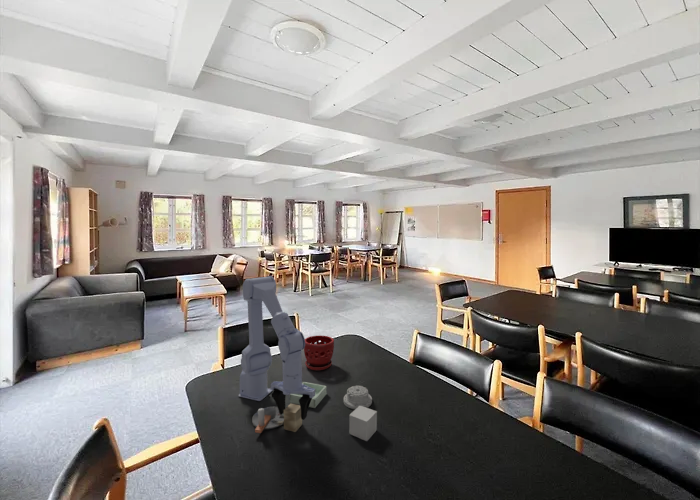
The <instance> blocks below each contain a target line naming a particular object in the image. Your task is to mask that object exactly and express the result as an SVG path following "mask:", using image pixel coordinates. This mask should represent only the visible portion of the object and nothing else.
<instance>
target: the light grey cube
mask: <svg viewBox="0 0 700 500" xmlns="http://www.w3.org/2000/svg"><path fill="white" fill-rule="evenodd" d="M348 417H349V419H348V420H349V421H348V422H349V429H348V430H349V435H351V436H354V437H356V438H358V439H360V440H363V441H365V442H368V441H369V440H370V439H371V438H372V436H373V435H374V434H375V433H376V431H377V430H378V424H377V423H378V411H377V410H374V409H371V408H369V407H368V408H366V407H363V406H359V407H358V408H356V409H353V411H352V412H351V413H350V414H349V415H348Z"/></svg>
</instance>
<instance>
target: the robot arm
mask: <svg viewBox="0 0 700 500" xmlns="http://www.w3.org/2000/svg"><path fill="white" fill-rule="evenodd" d="M276 293H277V282H276V279H275V278H274V276H272V275H269V276H262V277H252V278H250V277H249V278H246V279H245V280H244V281H243V283H242V296H243V297H242V298H243V300H244V301H246V302H247V318H248V319H247V320H248V339H249V344H248V345H247V346H246V347H245V348H244V349H243V350H242V351H241V358H240V366H241V373H240V375H239V380H238V381H239V394H238V398H239V397H240V398H244V399H248V400H252V401H257V402H260V401H262V400H263V399H264V398H265V397H267V396H268V395H269V394H271V397H272V399H273V400H274V402H275V405H276V407H278V410H279V413H280V415H282V414H283V413H284V410H285V409H286V397H287V396H290V394H301V395H303V396H302V397H301V398H300V399H299V403H300V407H301V419H302V421H303V420H305V419H306V418H307V416H308V412H309V411H308V410H309V408H310V407H309V405H310V402H311V400H312V398H313V397H314V396H315V389H314V388H311V387H308V386H306V385H304V384H302V382H303V381H302V380H303V372H302V371H303V365H302V364H303V363H302V351H304V347H305V339H306V338H305V336H304V333H303V332H302V331H301V330H299V329H298V328H295V327H296V326H294V323H293V322H292V320H291V319H292V318H291V317H290V315H289V313H287V312H285V311H283V309H282V307H281V304H280V302H279V299H278V296H277V294H276ZM263 304H264V306H265V307H266V309H267V311H268V312H269V314H270V315H271V317H272V318H271V320H270V324H271V326H272V328H273V329H274V331H275V334H276V336H277V338H278V343H277V345H278V350H279V354H280V359H281V362H282V363H281V364H282V381H278V380H277V381H276V380H272V382H271V383H270V388H268V371H269V369H270V366H272V364H273V357H272V352H271V348H270V346H269V345H267V344H266V343H265V342H264V321H263V320H264V319H263V317H264V316H263ZM271 392H272V393H271Z"/></svg>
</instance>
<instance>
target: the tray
mask: <svg viewBox="0 0 700 500" xmlns="http://www.w3.org/2000/svg"><path fill="white" fill-rule="evenodd" d="M302 384H304V385H306V386H308V387H311V388H314V389H315V396H314V397H313V398H312V400H311V402H310V405H309V408H313V409H316V407H318V405H319V404H320V403H321V402H322V400H323V399H324V398H325V397H326V396H327V394H328V392H327V389H328V388H327V387H328V386H326V385H323V384H319V383H313V382H306V381H302ZM302 396H303V395H301V394H290V395H289V404H290V403H291V404H296V405H300V403H299V399H300V398H301V397H302Z"/></svg>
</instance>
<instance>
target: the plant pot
mask: <svg viewBox="0 0 700 500" xmlns="http://www.w3.org/2000/svg"><path fill="white" fill-rule="evenodd" d="M315 343H316V344H315ZM334 348H335V339H334V338H333V337H331V336H329V335H311V336H308V337H306V338H305V347H304V349H303V352H304V357H305V360H306V361H305V363H304V364H305V366H306V368H308V369H309V370H312V371H323V370H327V369H329V368H330V367H331V366H332V364H333V362H332V361H333V360H332V358H333V356H334V355H333V354H334V351H335V350H334Z"/></svg>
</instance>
